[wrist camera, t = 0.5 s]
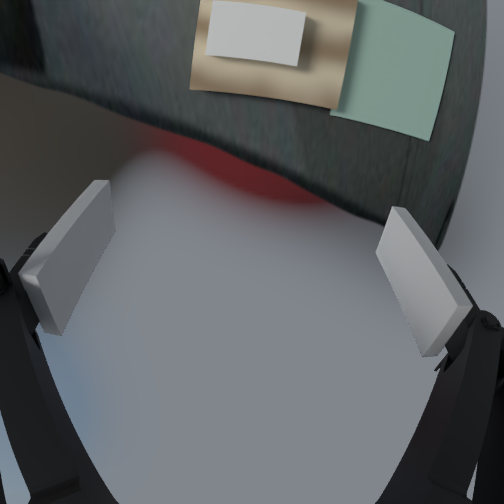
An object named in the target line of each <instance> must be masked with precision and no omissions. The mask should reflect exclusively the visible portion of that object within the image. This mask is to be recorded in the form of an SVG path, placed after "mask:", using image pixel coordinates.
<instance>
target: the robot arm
mask: <svg viewBox="0 0 504 504" xmlns="http://www.w3.org/2000/svg"><path fill="white" fill-rule="evenodd" d="M114 233H115V224H114V217H113V211H112V201H111V192H110V182H109V180H94V181H93V182H92V183H91V184H90V186H89V187H88V188H87V189H86V190H85V191H84V192H83V193H82V194H81V196H79V198H78V199H77V200H76V201H75V202H74V203H73V205H72V206H71V207H70V208H69V209H68V210H67V211H66V212H65V214H64V215H63V216H62V217H61V218H60V220H59V221H58V222H57V223H56V224H55V226H54V227H53V228H52V229H51V231H50V232H49V233H43V234H42V235H40V236H39V237H38V238H36V239H35V240H34V241H33V242H32V244H31V245H30V246H29V247H28V249H27V250H26V251H25V253H24V254H23V256H21V258H20V259H19V260H18V262H17V263H16V264H15V266H14V267H13V268H12V270H11V271H10V273H9V272H8V270H7V267H6V265H5V262H4V260H3V259H1V258H0V411H1V415H2V418H3V421H4V425H5V428H6V431H7V435H8V438H9V441H10V444H11V446H12V449H13V452H14V455H15V458H16V460H17V463H18V465H19V468H20V471H21V473H22V475H23V478H24V480H25V483H26V485H27V487H28V490H29V492H30V496H31V499H30V501H29V503H28V504H119V503H118V502H117V501H116V500H115V499H114V497H113V496H112V494H111V493H110V491H109V490H108V488H107V486H106V485H105V483H104V481H103V480H102V478H101V477H100V475H99V473H98V472H97V470H96V468H95V466H94V465H93V463H92V461H91V459H90V457H89V456H88V454H87V452H86V450H85V448H84V446H83V444H82V442H81V440H80V438H79V437H78V435H77V432H76V430H75V428H74V426H73V424H72V422H71V420H70V418H69V416H68V413H67V411H66V409H65V407H64V404H63V402H62V400H61V397H60V395H59V392H58V390H57V388H56V385H55V383H54V380H53V377H52V375H51V372H50V369H49V366H48V364H47V361H46V358H45V355H44V352H43V349H42V346H41V343H40V340H39V336H38V334H37V332H36V330H35V329H36V326H37V325H38V323H39V322H40V324H41V326H42V328H43V330H44V332H45V333H50V334H55V335H60V336H62V334H63V332H64V329H65V327H66V325H67V323H68V321H69V319H70V316H71V314H72V312H73V310H74V308H75V306H76V304H77V302H78V300H79V298H80V296H81V294H82V292H83V290H84V288H85V286H86V284H87V282H88V280H89V278H90V276H91V274H92V272H93V271H94V269H95V267H96V265H97V263H98V262H99V260H100V258H101V256H102V254H103V253H104V251H105V249H106V247H107V245H108V244H109V242H110V240H111V238H112V237H113V235H114ZM376 255H377V257H378V259H379V261H380V263H381V265H382V267H383V269H384V271H385V273H386V275H387V277H388V279H389V282H390V284H391V286H392V288H393V290H394V292H395V294H396V297H397V299H398V301H399V303H400V305H401V308H402V310H403V312H404V314H405V317H406V319H407V321H408V324H409V326H410V328H411V331H412V333H413V336H414V338H415V340H416V343H417V345H418V348H419V350H420V353H421V355H422V357H431V356H437V355H438V354H439V353H440V352H441V350H442V349H443V348H444V346H445V347H446V349H447V351H448V353H447V355H446V356H445V357H444V358H443V360H442V361H441V362H440V363H439V365H438V366H437V367H436V369H435V370H434V371H437V370H438V369H439V368H440V371H439V373H438V376H437V379H436V382H435V384H434V387H433V390H432V392H431V395H430V398H429V400H428V403H427V405H426V408H425V410H424V412H423V415H422V417H421V419H420V421H419V424H418V426H417V428H416V430H415V433H414V435H413V437H412V439H411V441H410V443H409V445H408V447H407V449H406V451H405V453H404V455H403V457H402V459H401V461H400V463H399V465H398V467H397V469H396V471H395V472H394V474H393V476H392V478H391V479H390V481H389V483H388V485H387V486H386V488H385V490H384V491H383V493H382V495H381V496H380V498H379V499H378V501H377V502H376V503H375V504H504V328H503V327H501V325H500V322H499V321H498V320H497V318H496V317H495V316H494V315H492V314H491V313H490V312H487V311H484V310H481V311H480V309H479V308H478V306H477V304H476V303H475V301H474V299H473V298H472V296H471V294H470V293H469V291H468V290H467V289H466V287H465V285H464V283H463V282H461V279H460V277H459V276H458V274H457V273H456V272H455V271H454V270H453V269H452V268H451V267H450V266H449V265H447V264H446V263H445V261H444V260H443V259H442V257H441V256H440V254H439V253H438V251H437V250H436V248H435V247H434V246H433V244H432V243H431V241H430V240H429V239H428V237H427V236H426V235H425V233H424V232H423V231H422V229H421V228H420V227H419V225H418V224H417V223H416V221H415V220H414V219H413V217H412V216H411V215H410V213H409V212H408V211H407V210H406V208H401V207H394V206H392V208H391V211H390V214H389V217H388V220H387V223H386V226H385V228H384V231H383V234H382V237H381V239H380V242H379V245H378V247H377V250H376ZM477 461H478V463H477ZM476 464H477V472H476V479H475V487H474V493H473V499H472V501H471V500H470V499H468V498H467V495H466V494H467V490H468V487H469V484H470V482H471V479H472V476H473V473H474V470H475V467H476ZM0 504H6V500H5V495H4V490H3V485H2V479H1V473H0Z"/></svg>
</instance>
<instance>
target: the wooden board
mask: <svg viewBox="0 0 504 504" xmlns="http://www.w3.org/2000/svg"><path fill="white" fill-rule="evenodd" d="M215 1H230V2H241V3H250V4H258V5H266V6H273V7H279V8H285V9H291V10H296V11H301V12H306V17H305V23H304V29H303V34H302V40H301V46H300V52H299V57H298V63H297V66H292V65H286V64H280V63H273V62H267V61H260V60H252V59H243V58H234V57H223V56H211V55H205V53H206V45H207V38H208V30H209V23H210V16H211V10H212V3H213V0H201V2H200V8H199V15H198V22H197V29H196V37H195V45H194V53H193V62H192V71H191V80H190V90H205V91H217V92H228V93H237V94H246V95H254V96H261V97H269V98H275V99H282V100H288V101H294V102H300V103H305V104H310V105H315V106H320V107H325V108H330V109H335V110H337V107H338V103H339V98H340V93H341V88H342V84H343V79H344V74H345V69H346V64H347V59H348V53H349V48H350V43H351V38H352V32H353V26H354V21H355V15H356V9H357V3H358V0H215Z"/></svg>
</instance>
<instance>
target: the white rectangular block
mask: <svg viewBox="0 0 504 504" xmlns="http://www.w3.org/2000/svg"><path fill="white" fill-rule="evenodd" d="M305 17H306V12H301V11H296V10H291V9H285V8H279V7H273V6H266V5H258V4H250V3H241V2H230V1H215V0H213V3H212V10H211V16H210V23H209V30H208V38H207V45H206V53H205V55H211V56H223V57H234V58H243V59H252V60H260V61H267V62H273V63H280V64H286V65H292V66H297V63H298V57H299V52H300V46H301V40H302V34H303V29H304V23H305Z"/></svg>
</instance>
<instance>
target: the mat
mask: <svg viewBox="0 0 504 504" xmlns="http://www.w3.org/2000/svg"><path fill="white" fill-rule="evenodd" d="M454 33H455V32H453V31H451V30H450V29H448V28H446V27H444V26H442V25H440V24H438V23H435V22H433V21H431V20H429V19H427V18H425V17H423V16H420V15H418V14H416V13H413V12H411V11H409V10H406V9H404V8H401V7H399V6H396V5H394V4H391V3H388V2H386V1H383V0H358V3H357V9H356V15H355V21H354V26H353V32H352V38H351V43H350V48H349V53H348V59H347V64H346V69H345V74H344V79H343V84H342V88H341V93H340V98H339V103H338V107H337V110H335V109H331V110H330V115H333V116H338V117H343V118H347V119H351V120H356V121H360V122H364V123H368V124H372V125H375V126H379V127H383V128H387V129H390V130H394V131H397V132H401V133H404V134H407V135H411V136H414V137H417V138H420V139H423V140H426V141H429V140H430V136H431V133H432V129H433V126H434V122H435V119H436V115H437V111H438V108H439V104H440V100H441V96H442V92H443V88H444V83H445V79H446V74H447V70H448V65H449V60H450V55H451V50H452V45H453V39H454Z"/></svg>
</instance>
